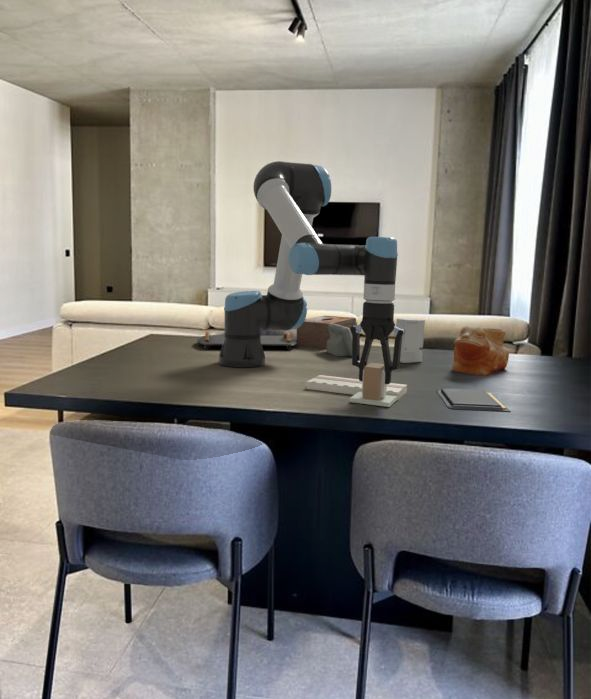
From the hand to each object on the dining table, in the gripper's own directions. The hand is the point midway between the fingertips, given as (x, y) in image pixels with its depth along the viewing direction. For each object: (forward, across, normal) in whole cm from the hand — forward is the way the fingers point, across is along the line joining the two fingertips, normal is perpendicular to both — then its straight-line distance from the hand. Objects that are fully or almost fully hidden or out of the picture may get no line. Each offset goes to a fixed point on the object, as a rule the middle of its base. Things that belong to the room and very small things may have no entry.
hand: (374, 395), depth 146 cm
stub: (+2, 0, 0) cm, 2 cm away
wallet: (+3, +22, +13) cm, 26 cm away
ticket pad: (+2, -8, +10) cm, 12 cm away
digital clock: (+2, -30, +64) cm, 70 cm away
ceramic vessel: (+2, +19, +58) cm, 61 cm away
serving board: (+2, -68, +62) cm, 92 cm away
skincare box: (+2, -5, +62) cm, 62 cm away
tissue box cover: (+2, -44, +86) cm, 96 cm away
